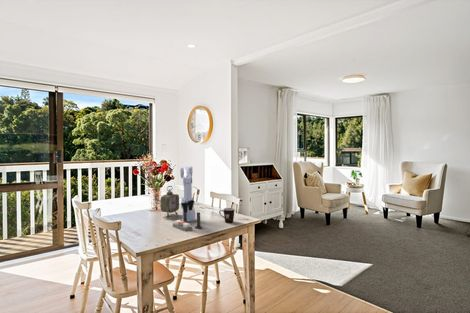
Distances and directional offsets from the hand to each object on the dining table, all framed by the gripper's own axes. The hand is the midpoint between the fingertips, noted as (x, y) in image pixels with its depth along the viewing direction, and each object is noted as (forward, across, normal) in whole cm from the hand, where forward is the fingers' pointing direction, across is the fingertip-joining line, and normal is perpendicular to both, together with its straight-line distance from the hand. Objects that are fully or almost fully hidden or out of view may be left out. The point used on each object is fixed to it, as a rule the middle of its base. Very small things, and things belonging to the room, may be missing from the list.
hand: (188, 211), depth 208 cm
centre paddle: (+7, +7, -1) cm, 10 cm away
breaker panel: (+11, +7, -1) cm, 13 cm away
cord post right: (+11, +4, +10) cm, 15 cm away
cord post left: (+10, -4, -5) cm, 12 cm away
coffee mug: (+10, -18, +24) cm, 32 cm away
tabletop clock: (+9, -21, -28) cm, 36 cm away
